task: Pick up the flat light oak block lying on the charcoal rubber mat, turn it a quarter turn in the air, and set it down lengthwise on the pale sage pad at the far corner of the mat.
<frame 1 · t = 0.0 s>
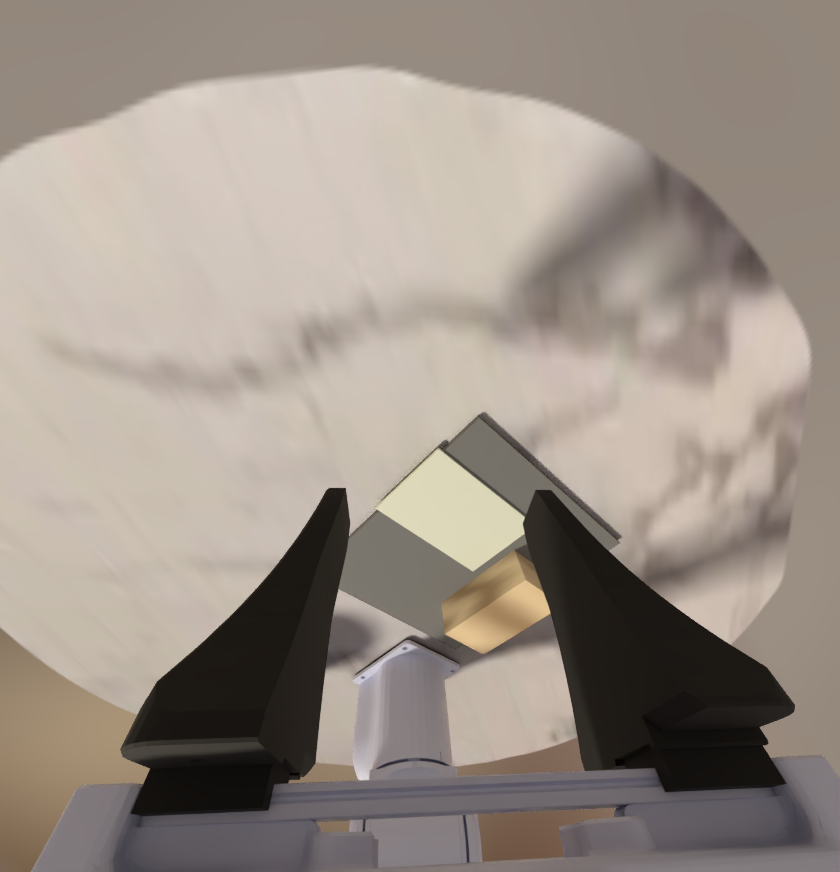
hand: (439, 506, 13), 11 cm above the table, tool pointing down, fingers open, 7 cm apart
oak block: (494, 589, 31), resting on rubber mat
rubber mat: (464, 555, 29), on the table
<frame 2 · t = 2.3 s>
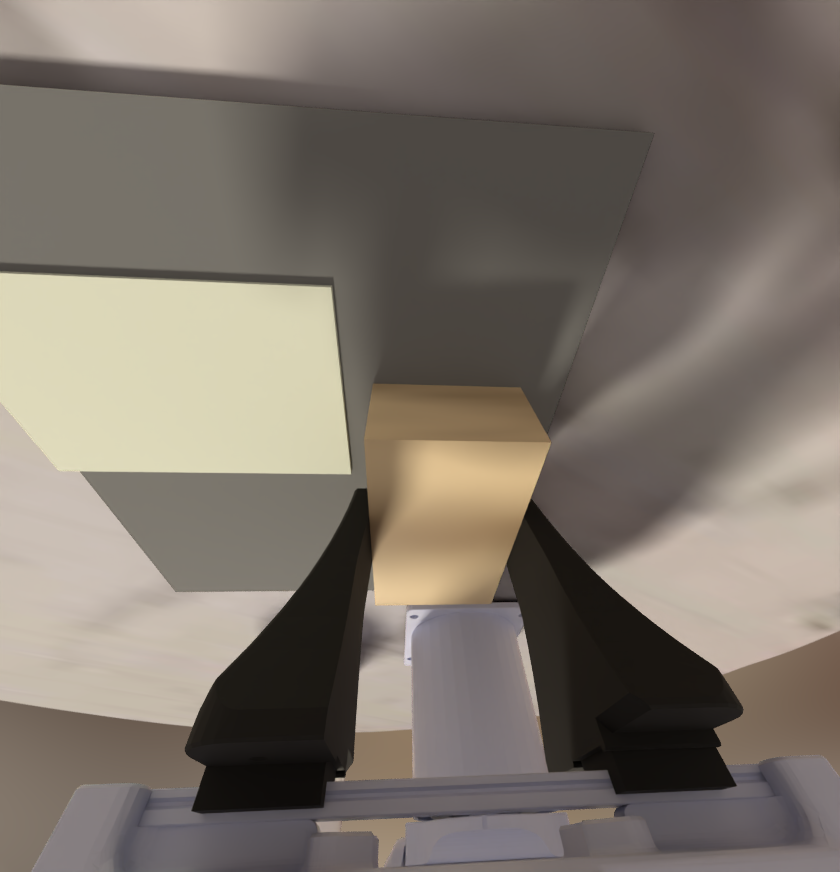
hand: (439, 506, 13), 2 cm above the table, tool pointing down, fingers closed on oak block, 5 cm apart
oak block: (436, 480, 14), resting on rubber mat, touching gripper
rubber mat: (314, 454, 13), on the table
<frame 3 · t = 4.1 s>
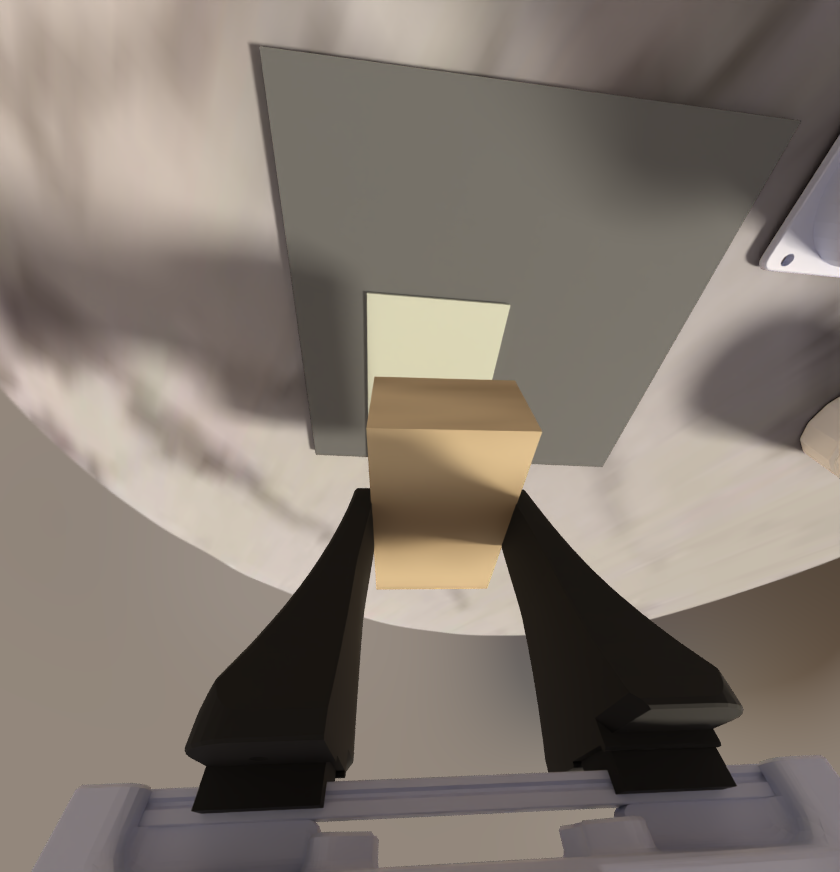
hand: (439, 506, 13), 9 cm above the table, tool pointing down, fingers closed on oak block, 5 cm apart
oak block: (435, 470, 14), point 7 cm above the table, touching gripper
rubber mat: (491, 330, 18), on the table
when the fingers open (3 cm above the table, at t = 6.1 s): oak block stays where it is, resting on rubber mat.
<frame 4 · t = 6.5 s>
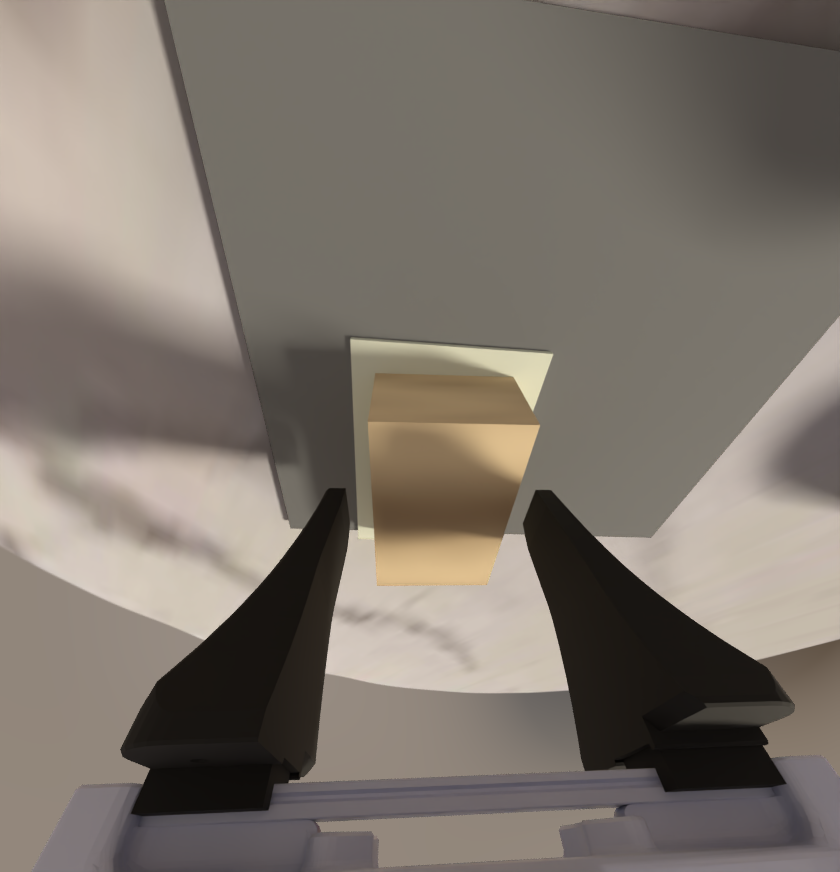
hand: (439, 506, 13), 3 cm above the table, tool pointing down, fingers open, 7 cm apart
oak block: (435, 467, 15), point 1 cm above the table, touching rubber mat
rubber mat: (522, 383, 13), on the table
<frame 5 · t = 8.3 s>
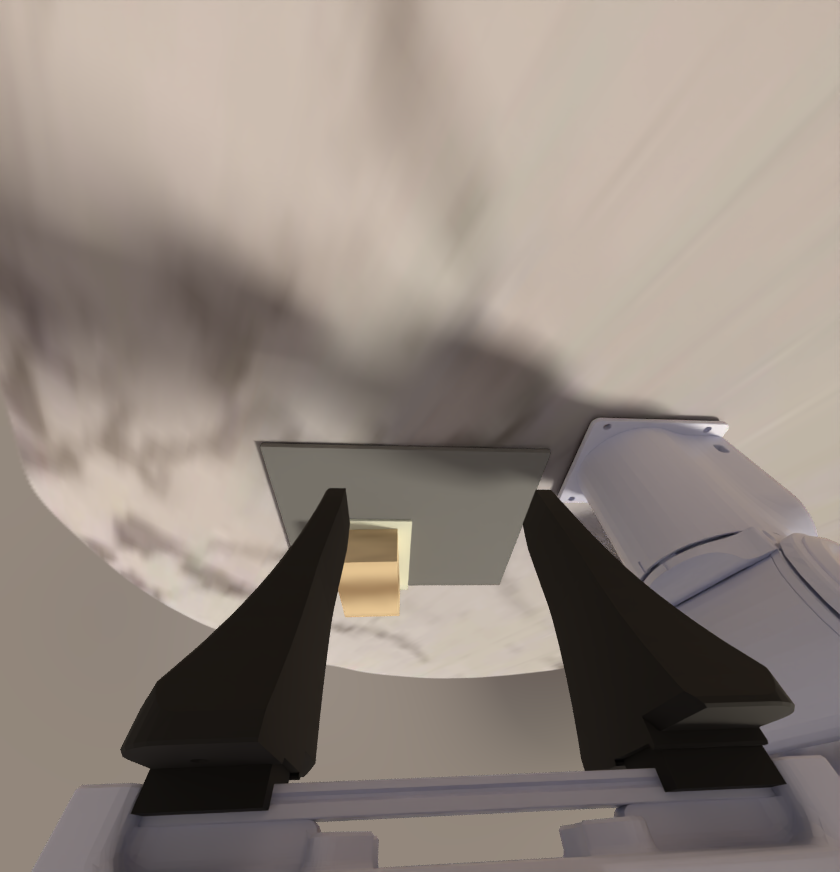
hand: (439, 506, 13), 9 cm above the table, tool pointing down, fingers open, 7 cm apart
oak block: (371, 559, 30), point 1 cm above the table, touching rubber mat
rubber mat: (405, 526, 28), on the table
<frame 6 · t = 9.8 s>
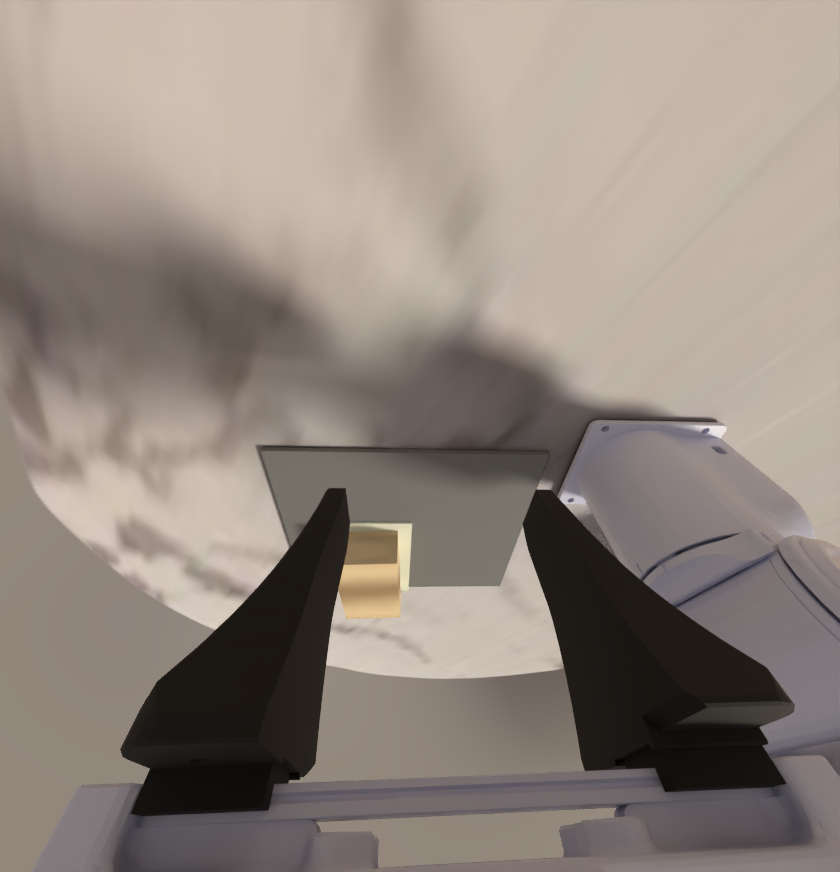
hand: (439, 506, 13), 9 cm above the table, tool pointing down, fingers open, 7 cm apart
oak block: (372, 561, 30), point 1 cm above the table, touching rubber mat
rubber mat: (405, 528, 29), on the table
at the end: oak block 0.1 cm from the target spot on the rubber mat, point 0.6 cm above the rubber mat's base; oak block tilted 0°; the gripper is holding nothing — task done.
